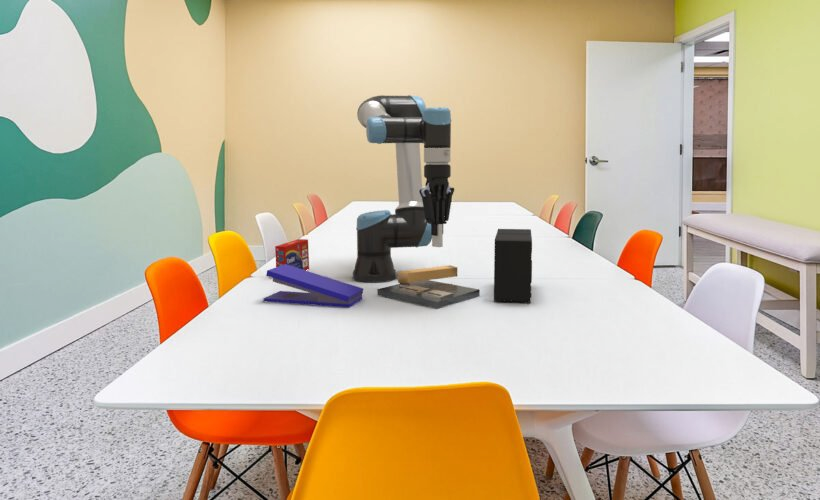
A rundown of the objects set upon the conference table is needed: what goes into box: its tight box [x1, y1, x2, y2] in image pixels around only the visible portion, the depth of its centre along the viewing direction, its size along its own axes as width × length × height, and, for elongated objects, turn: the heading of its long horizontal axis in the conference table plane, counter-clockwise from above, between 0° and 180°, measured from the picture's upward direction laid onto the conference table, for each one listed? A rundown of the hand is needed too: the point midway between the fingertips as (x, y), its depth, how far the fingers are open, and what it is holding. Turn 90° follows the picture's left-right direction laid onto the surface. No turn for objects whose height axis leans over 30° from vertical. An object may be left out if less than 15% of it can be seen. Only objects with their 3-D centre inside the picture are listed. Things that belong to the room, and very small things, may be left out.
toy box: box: [274, 238, 310, 271], centre depth 212 cm, size 18×4×12 cm, turn 164°
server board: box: [376, 280, 481, 310], centre depth 178 cm, size 24×20×3 cm
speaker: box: [493, 228, 533, 304], centre depth 180 cm, size 25×11×19 cm, turn 169°
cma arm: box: [397, 265, 458, 284], centre depth 187 cm, size 20×4×3 cm, turn 119°
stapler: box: [263, 264, 365, 308], centre depth 173 cm, size 12×28×10 cm, turn 74°
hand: (437, 246), depth 168 cm, fingers closed
